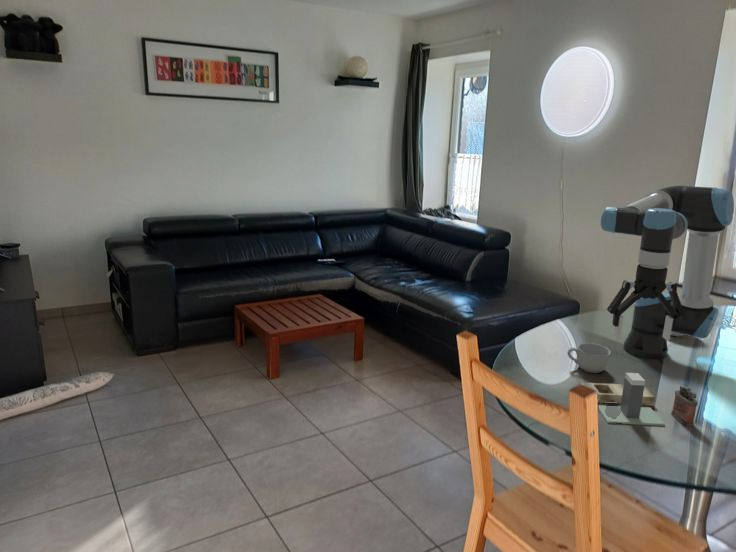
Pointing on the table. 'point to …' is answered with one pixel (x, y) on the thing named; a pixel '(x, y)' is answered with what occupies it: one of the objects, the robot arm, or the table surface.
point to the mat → (645, 418)
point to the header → (617, 393)
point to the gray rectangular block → (632, 395)
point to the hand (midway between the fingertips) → (641, 337)
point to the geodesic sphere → (676, 334)
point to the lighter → (684, 406)
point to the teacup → (591, 357)
